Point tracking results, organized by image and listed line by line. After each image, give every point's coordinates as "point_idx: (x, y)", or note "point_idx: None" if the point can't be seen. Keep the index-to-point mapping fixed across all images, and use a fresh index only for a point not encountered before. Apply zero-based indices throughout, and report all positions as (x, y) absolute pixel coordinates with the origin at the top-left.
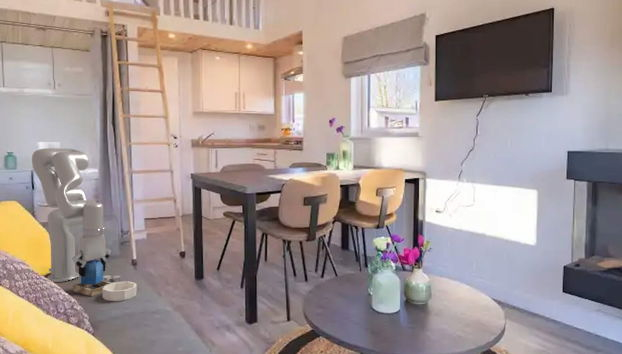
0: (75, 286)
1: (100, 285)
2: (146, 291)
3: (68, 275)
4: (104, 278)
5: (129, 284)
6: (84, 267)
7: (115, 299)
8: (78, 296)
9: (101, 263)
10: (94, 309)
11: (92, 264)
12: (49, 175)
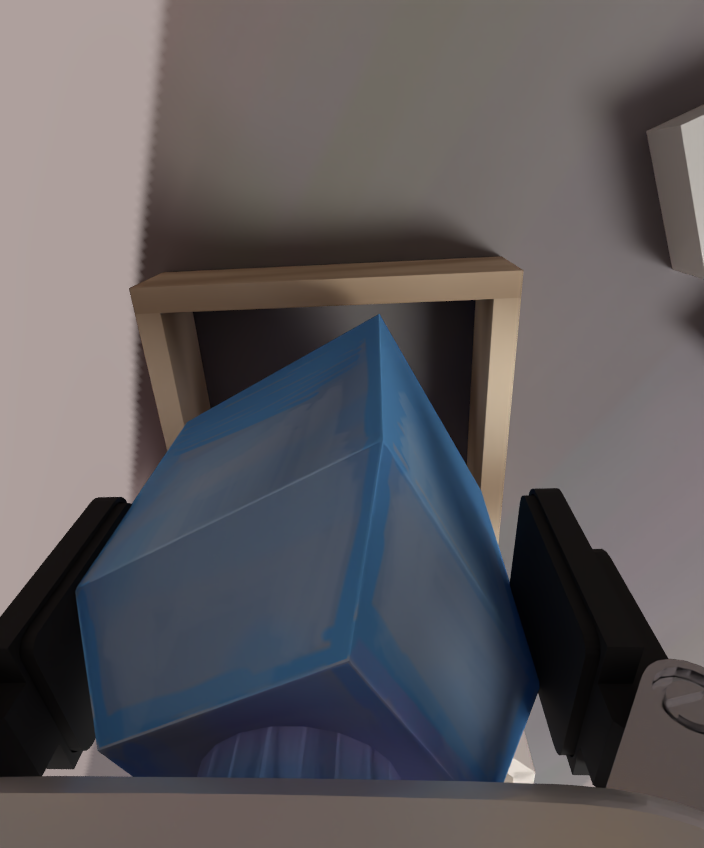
0: (148, 346)
1: (472, 389)
2: (568, 770)
3: None
4: (689, 230)
5: (506, 776)
6: (59, 764)
7: None
8: (136, 487)
9: (508, 737)
10: (115, 769)
11: None
12: None
